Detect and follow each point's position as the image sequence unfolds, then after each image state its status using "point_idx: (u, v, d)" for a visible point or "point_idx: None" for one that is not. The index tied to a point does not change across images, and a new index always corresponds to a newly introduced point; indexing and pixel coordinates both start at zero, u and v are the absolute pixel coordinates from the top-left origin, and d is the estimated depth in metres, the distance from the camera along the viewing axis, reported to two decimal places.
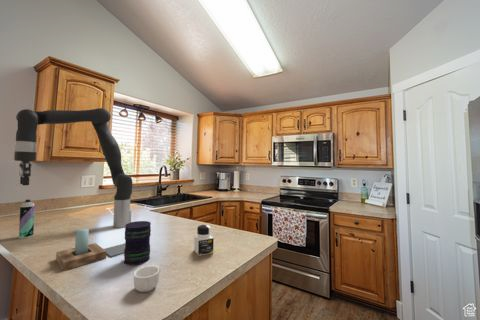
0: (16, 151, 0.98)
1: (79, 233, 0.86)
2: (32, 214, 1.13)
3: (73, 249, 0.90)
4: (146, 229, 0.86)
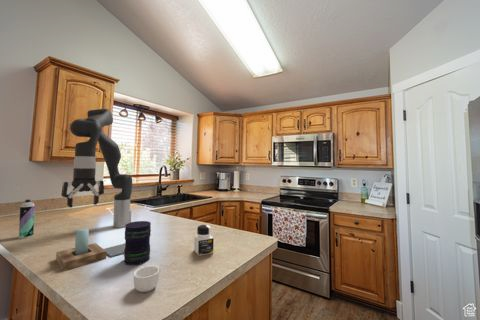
0: (92, 168, 0.88)
1: (79, 233, 0.86)
2: (32, 214, 1.13)
3: (73, 249, 0.90)
4: (146, 229, 0.86)
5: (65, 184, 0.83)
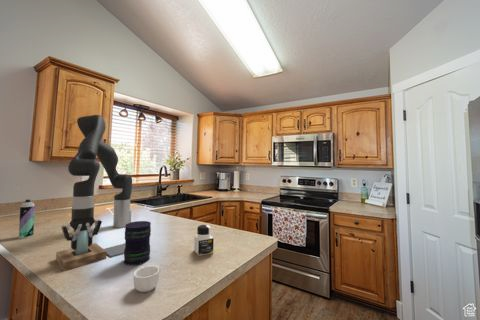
0: (90, 207, 0.88)
1: (79, 233, 0.86)
2: (32, 214, 1.13)
3: None
4: (146, 229, 0.86)
5: (64, 229, 0.83)
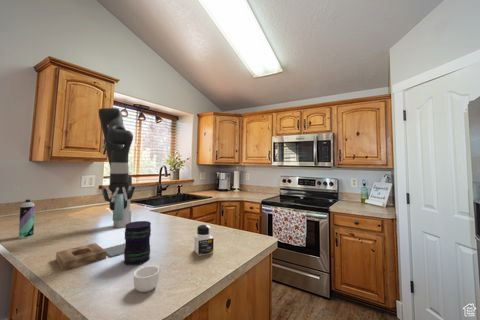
0: (126, 173, 0.97)
1: (116, 195, 0.95)
2: (32, 214, 1.13)
3: (73, 249, 0.90)
4: (146, 229, 0.86)
5: (104, 190, 0.92)
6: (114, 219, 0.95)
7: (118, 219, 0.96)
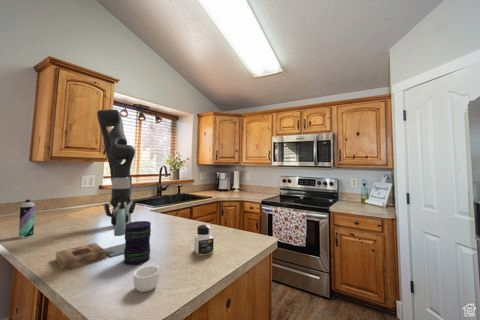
0: (128, 188, 0.97)
1: (118, 210, 0.96)
2: (32, 214, 1.13)
3: (73, 249, 0.90)
4: (146, 229, 0.86)
5: (106, 206, 0.92)
6: (116, 234, 0.95)
7: (120, 234, 0.96)
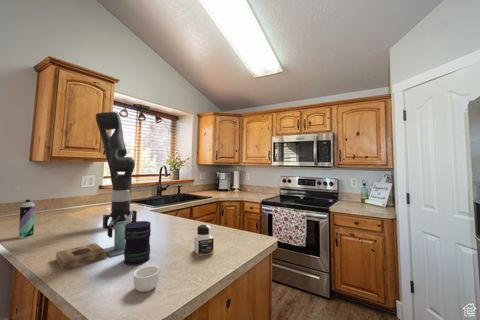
0: (128, 200, 0.97)
1: (118, 225, 0.96)
2: (32, 214, 1.13)
3: (73, 249, 0.90)
4: (146, 229, 0.86)
5: (105, 217, 0.92)
6: (116, 249, 0.95)
7: (120, 249, 0.96)
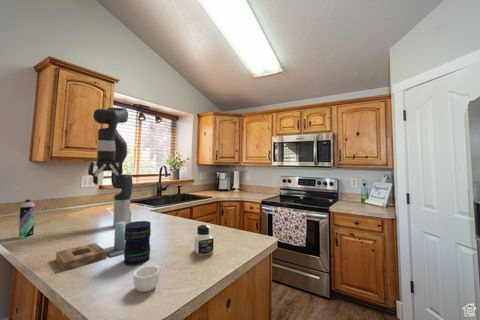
0: (113, 151, 1.02)
1: (118, 225, 0.96)
2: (32, 214, 1.13)
3: (73, 249, 0.90)
4: (146, 229, 0.86)
5: (91, 164, 0.97)
6: (116, 249, 0.95)
7: (120, 249, 0.96)
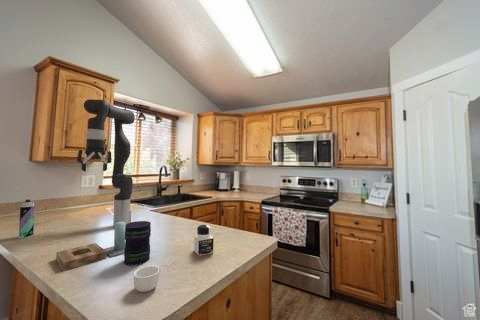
0: (102, 139, 1.05)
1: (118, 225, 0.95)
2: (32, 214, 1.13)
3: (73, 249, 0.90)
4: (146, 229, 0.86)
5: (80, 151, 1.00)
6: (116, 249, 0.95)
7: (120, 249, 0.96)
